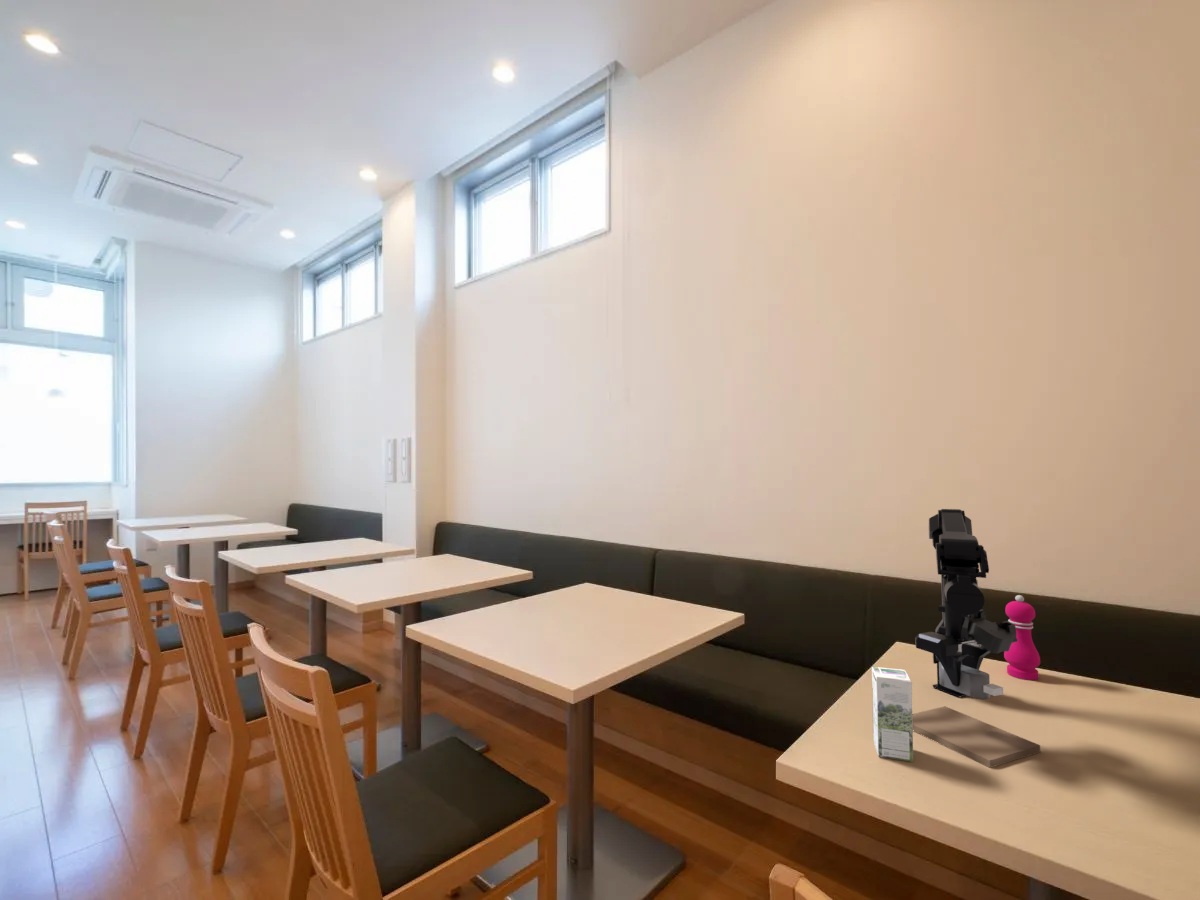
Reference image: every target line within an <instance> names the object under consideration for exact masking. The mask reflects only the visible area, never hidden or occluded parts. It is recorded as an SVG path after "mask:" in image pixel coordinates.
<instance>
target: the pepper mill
mask: <svg viewBox="0 0 1200 900" xmlns="http://www.w3.org/2000/svg"><path fill="white" fill-rule="evenodd" d="M1014 599H1015V600H1012V601H1010V602H1008V603H1007V604H1006V605H1005V615H1006V616H1007V617H1008V618H1009V619H1008V620H1007V621H1009V622H1010V623H1012V624H1014V625H1015V627H1016V634H1017V636H1016V638H1017V640H1018V641H1017V642H1014V643H1012V644H1011V646H1010V649H1009V651H1007V652H1006V651H1003V657H1004V659H1005V661H1006V662H1007V663H1008V665H1006V673H1007V675H1008V676H1010V677H1013V678H1017V679H1019V680H1025V681H1026V680H1027V681H1035V680H1038V679H1039V676H1040V675H1039V670H1038V669H1037V667H1039V666H1040V665H1041V656H1040V653H1039V652H1038V650H1037V648H1036V645H1035V643H1034V641H1033V638H1032V629H1034V622H1032V621H1033V620H1034V619H1035V618H1036V610H1035V608H1034V607H1033V606H1032V605H1031V604H1030V603H1028V602H1027V601H1025V597H1024V596H1023V595H1020V594H1018V595H1015V597H1014Z"/></svg>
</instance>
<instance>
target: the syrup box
mask: <svg viewBox="0 0 1200 900" xmlns="http://www.w3.org/2000/svg"><path fill="white" fill-rule="evenodd" d="M871 684H872V685H871V686H872V688H871V691H872V694H871V695H872V738H873V740H872V741H873V744H874V747H875V751H876V753H877V756H878V757H880V758H886V759H891V760H892V759H893V760H898V761H906V762H914V741H913V740H914V734H913V733H914V731H913V725H912V714H913V683H912V681H911V679H910V677H909V675H908V673H907V671H906V669H899V668H891V667H890V668H888V667H879V666H872V667H871Z"/></svg>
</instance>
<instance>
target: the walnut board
mask: <svg viewBox="0 0 1200 900" xmlns="http://www.w3.org/2000/svg"><path fill="white" fill-rule="evenodd" d="M912 725H913V730H914V731H913V732H915V731H916V732H915V733H917V732H918V733H917V734H919V733H920V734H919V735H921V734H922V735H921V736H923V735H924V736H923V737H925V736H926V737H925V738H927V737H928V738H927V739H929V740H931V739H932V740H931V741H933V740H934V742H935V741H936V743H937V742H938V744H939V745H942V746H943V747H946V748H948V749H950V750H952V751H954V752H957V753H958V754H961V755H963V757H964V756H965V757H966V758H969V759H971V760H973V761H974V762H977V763H979V764H981V765H984V766H986V767H988V768H994V767H997V766H999V765H1003V764H1006V763H1010V762H1012V761H1015V760H1016V761H1017V760H1019V759H1022V758H1025V757H1029V756H1031V755H1035V754H1038V753H1041V745H1040V744H1039V743H1035V742H1033V741H1031V740H1028V739H1026V738H1023V737H1021V736H1019V735H1016V734H1013V733H1011V732H1008V731H1006V730H1004V729H1001V728H999V727H997V726H994V725H992V724H989V723H987V722H984V721H982V720H979V719H977V718H975V717H972V716H970V715H967V714H965V713H963V712H960V711H958V710H955V709H953V708H951V707H948V706H941V707H936V708H931V709H927V710H922V711H919V712H914V713H912Z"/></svg>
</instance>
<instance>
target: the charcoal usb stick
mask: <svg viewBox="0 0 1200 900" xmlns="http://www.w3.org/2000/svg"><path fill="white" fill-rule="evenodd" d="M939 682H940V685H942V686H944V687H947V688H949V689H952V690H955V691H957V692H960V693H963V694H965V695H966V696H969V697H970V698H971V697H972V698H975V699H980V700H988V699H991V696H993V697H996V696H1001V695H1004V687H1003V686H1000V685H997V684H994V683H990V682H991V681H990V674H989V673H987V672H985V671H982V670H980V669H979V670H977V669H974V668H971V667H968V666H965V665H961V675H960V684H959V686H958V687H957V686H954V685H953V684H952V683H951V681H950V679H949V677H948V675H947V673H946V672H945V670H944V668H943V666H942V664H941V662H939Z"/></svg>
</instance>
